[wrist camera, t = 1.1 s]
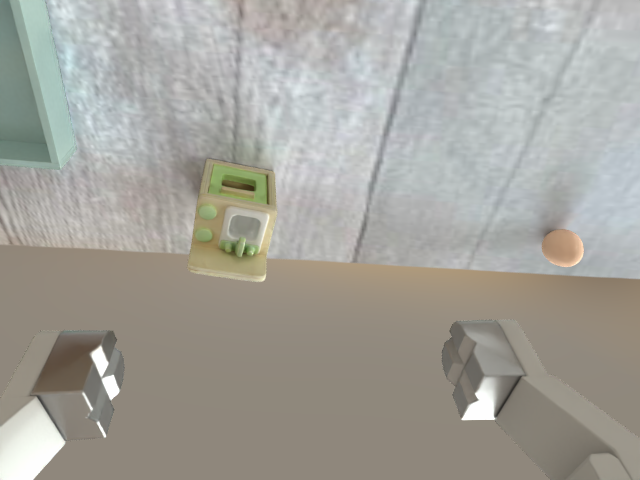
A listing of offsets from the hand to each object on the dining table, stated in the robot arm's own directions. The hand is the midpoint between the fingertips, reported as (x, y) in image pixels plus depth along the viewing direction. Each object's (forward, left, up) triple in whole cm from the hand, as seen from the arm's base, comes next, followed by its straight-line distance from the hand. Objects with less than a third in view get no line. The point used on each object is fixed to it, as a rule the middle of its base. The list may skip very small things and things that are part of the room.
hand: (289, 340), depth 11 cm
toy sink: (+21, -3, -41) cm, 46 cm away
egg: (+25, +43, -41) cm, 64 cm away
